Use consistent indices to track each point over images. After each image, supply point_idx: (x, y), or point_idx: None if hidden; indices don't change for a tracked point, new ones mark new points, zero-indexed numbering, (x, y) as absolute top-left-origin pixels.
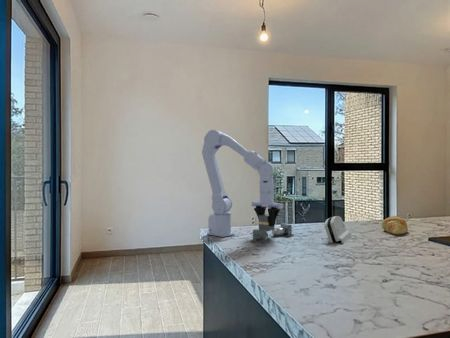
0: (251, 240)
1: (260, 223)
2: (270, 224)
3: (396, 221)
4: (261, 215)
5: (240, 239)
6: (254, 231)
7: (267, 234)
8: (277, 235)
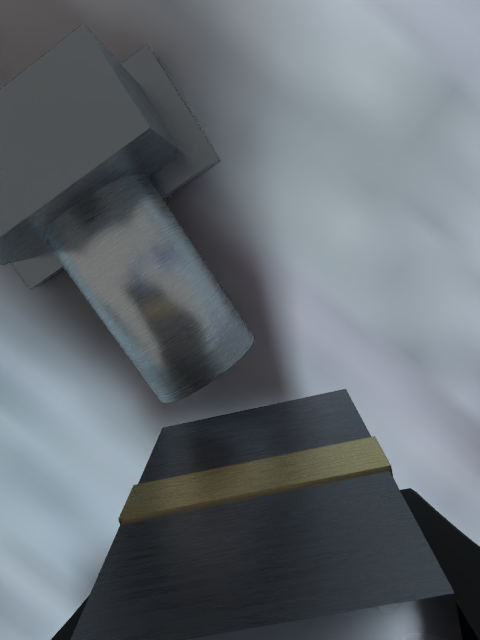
0: (137, 54)
1: (323, 452)
2: None
3: None
4: (337, 629)
5: (385, 32)
6: (63, 58)
7: (145, 379)
8: None
